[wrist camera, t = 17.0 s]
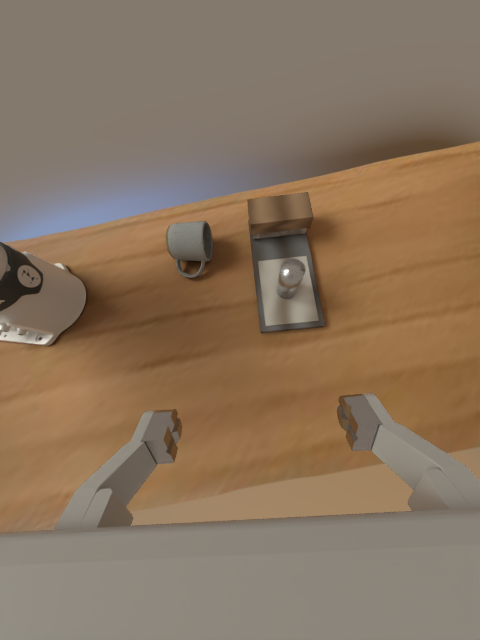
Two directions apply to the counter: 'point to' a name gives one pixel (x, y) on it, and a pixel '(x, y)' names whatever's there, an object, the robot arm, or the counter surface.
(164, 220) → the counter surface
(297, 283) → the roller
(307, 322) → the grey board with block
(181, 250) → the ceramic mug
